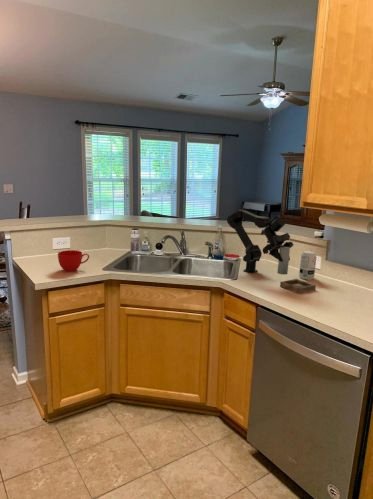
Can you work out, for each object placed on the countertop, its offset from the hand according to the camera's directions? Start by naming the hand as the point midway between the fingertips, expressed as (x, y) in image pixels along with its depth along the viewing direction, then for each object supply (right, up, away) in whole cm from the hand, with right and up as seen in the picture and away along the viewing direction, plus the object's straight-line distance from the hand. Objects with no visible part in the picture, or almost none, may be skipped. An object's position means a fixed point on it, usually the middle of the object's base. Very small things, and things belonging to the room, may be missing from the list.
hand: (285, 260), depth 193 cm
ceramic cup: (-116, -6, +13) cm, 117 cm away
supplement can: (+16, -10, +14) cm, 23 cm away
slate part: (-1, -7, +3) cm, 7 cm away
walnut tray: (+5, -14, -5) cm, 16 cm away
